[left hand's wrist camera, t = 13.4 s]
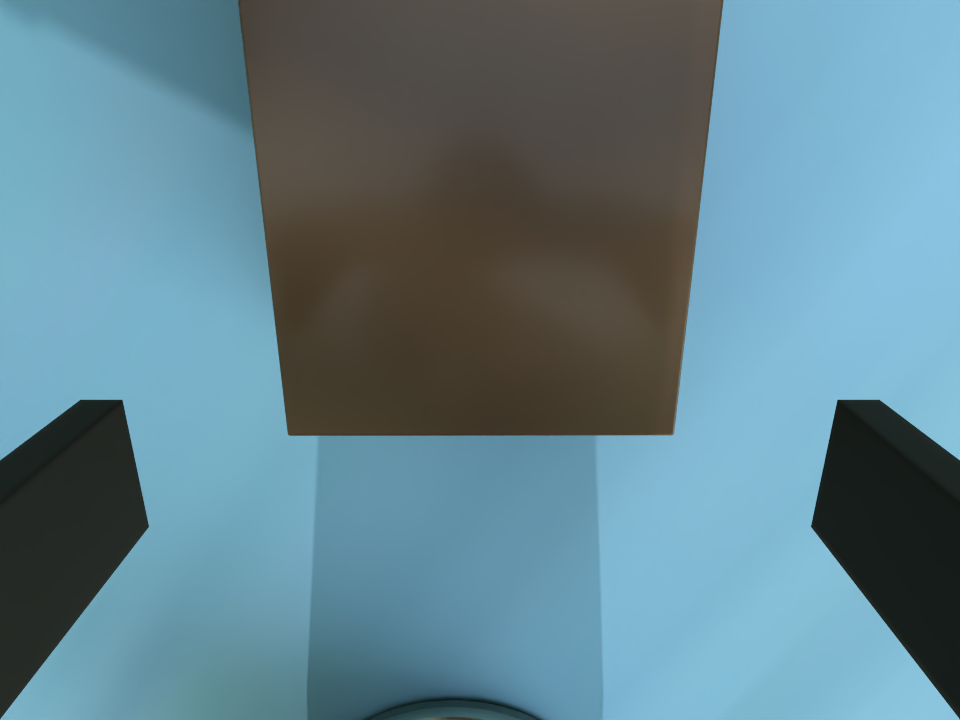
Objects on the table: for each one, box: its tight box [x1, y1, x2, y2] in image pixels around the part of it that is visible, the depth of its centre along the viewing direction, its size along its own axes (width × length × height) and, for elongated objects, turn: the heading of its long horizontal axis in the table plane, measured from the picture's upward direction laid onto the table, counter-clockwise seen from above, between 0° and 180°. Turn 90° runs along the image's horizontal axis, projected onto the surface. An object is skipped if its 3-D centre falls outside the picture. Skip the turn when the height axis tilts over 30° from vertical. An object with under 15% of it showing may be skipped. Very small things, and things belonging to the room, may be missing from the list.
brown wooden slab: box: [238, 0, 723, 436], centre depth 20 cm, size 20×11×8 cm, turn 0°
